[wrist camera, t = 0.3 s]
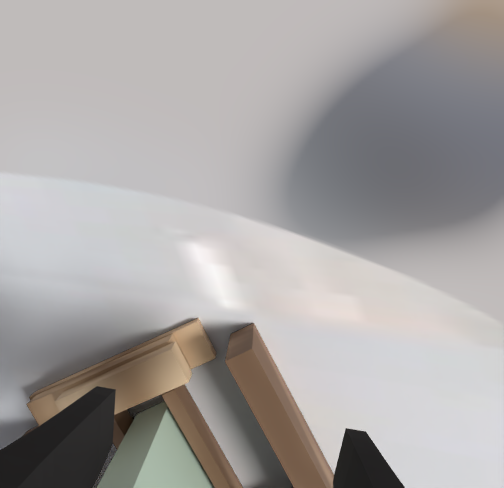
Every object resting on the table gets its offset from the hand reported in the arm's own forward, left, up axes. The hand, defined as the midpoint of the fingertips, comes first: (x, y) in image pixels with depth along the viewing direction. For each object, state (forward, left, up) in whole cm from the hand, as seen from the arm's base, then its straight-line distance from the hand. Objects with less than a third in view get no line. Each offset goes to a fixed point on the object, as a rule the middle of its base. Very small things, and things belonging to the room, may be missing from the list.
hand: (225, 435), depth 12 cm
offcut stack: (-8, 0, -11) cm, 13 cm away
